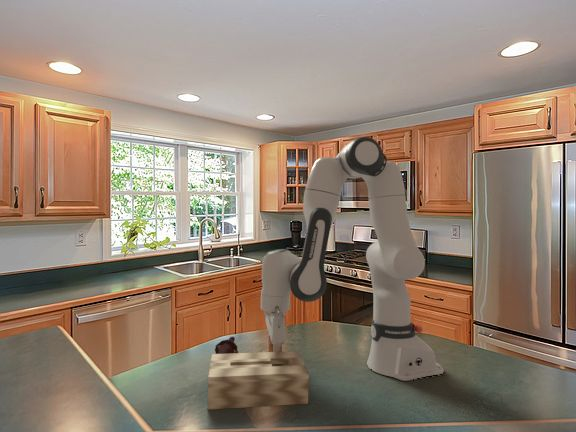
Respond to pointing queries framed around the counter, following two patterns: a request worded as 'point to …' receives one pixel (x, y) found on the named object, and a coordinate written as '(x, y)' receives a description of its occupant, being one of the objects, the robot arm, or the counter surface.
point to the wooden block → (271, 345)
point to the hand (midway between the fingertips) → (274, 349)
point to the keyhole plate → (257, 380)
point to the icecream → (226, 346)
